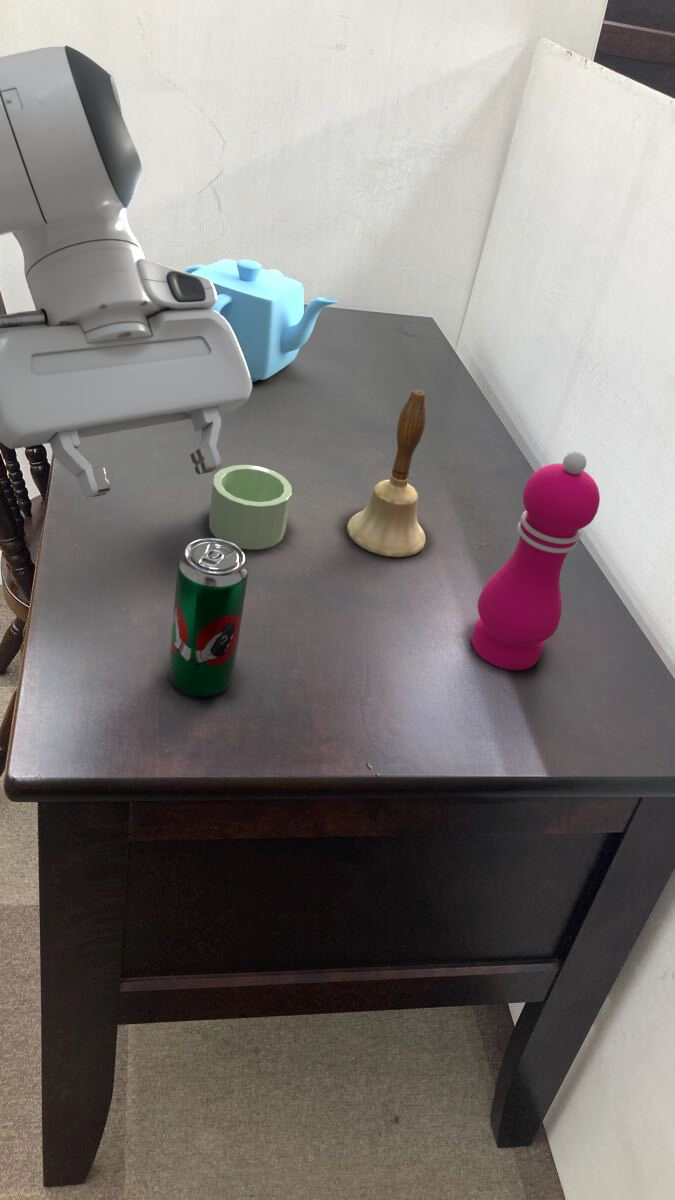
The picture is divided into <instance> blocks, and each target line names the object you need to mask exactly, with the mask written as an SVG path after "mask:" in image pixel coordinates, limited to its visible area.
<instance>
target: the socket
mask: <svg viewBox="0 0 675 1200" xmlns="http://www.w3.org/2000/svg"><path fill="white" fill-rule="evenodd" d="M292 495H293V487H292V485H291V483H290V482H289V481H288V479H287V478H286V477H284V475H282V474H280V473H278V472H276V471H274V470H272V469H268V468H266V467H263V466H259V465H250V464H238V465H230V466H227V467H225V468H222V469H220V470H219V471H218V472H217V473H215V475H213V478H212V489H211V497H210V507H209V516H208V528H209V531H210V533H211V534H212V535H213V536H214V537H215V539H221V540H225V541H228V542H230V543H233V544H234V545H236V546H237V547H239V548H240V549H241V550H242V549H243V550H251V551H252V550H254V551H255V550H256V551H257V550H264V549H265V550H266V549H269V548H272V547H274V546H276V545H278V544H279V543H280V542H281V541H282V540H283V539H284V538H285V534H286V531H287V527H288V521H289V520H288V519H289V514H290V508H291V502H292Z"/></svg>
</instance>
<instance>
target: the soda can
mask: <svg viewBox="0 0 675 1200" xmlns="http://www.w3.org/2000/svg"><path fill="white" fill-rule="evenodd" d="M176 568H177V569H176V580H175V593H174V606H173V617H172V626H171V628H172V629H171V639H170V651H169V660H168V661H169V662H168V663H169V664H168V677H169V680H170V682H172V683H173V685H174V686H175V687H176V688H177V689H179V691H182V692H183V693H185V694H187V695H190V696H193V697H200V698H204V697H205V698H206V697H211V696H215V695H217V694H219V693H221V692H223V691H225V690H226V689H228V687H229V686H230V685H231V684H232V682H233V680H234V675H235V674H234V673H235V667H236V660H237V654H238V647H239V639H240V633H241V627H242V619H243V612H244V605H245V597H246V591H247V586H248V585H247V584H248V577H249V567H248V564H247V563H246V557H245V554H244V552H243V550H242V548H239V547H237V546H236V545H234V544H233V543H230V542H228V541H225V540H221V539H217V538H213V537H211V538H210V537H209V538H200V539H197V540H194V541H192V542H191V543H188V544H187V546H186V547H185V549H184V551H183V554H182V555H181V556H180V557H179V559H178V562H177V567H176Z"/></svg>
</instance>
